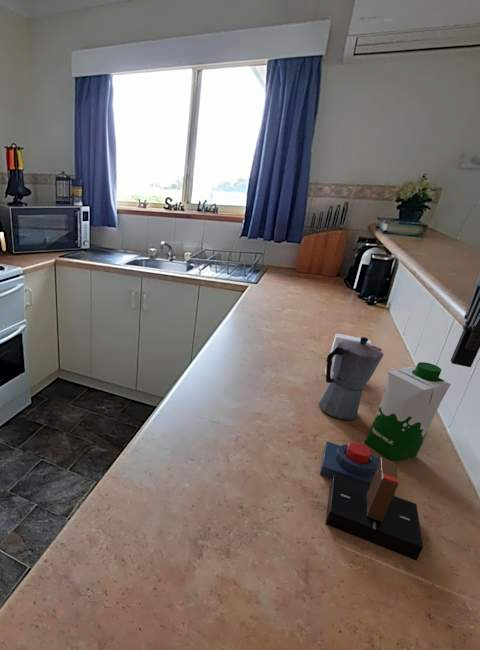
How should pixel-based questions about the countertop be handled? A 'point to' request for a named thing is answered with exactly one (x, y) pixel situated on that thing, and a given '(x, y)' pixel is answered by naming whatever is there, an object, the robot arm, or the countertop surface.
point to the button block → (347, 465)
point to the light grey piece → (337, 340)
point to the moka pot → (349, 377)
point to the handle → (382, 489)
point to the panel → (391, 533)
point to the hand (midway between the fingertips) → (460, 363)
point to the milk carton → (406, 411)
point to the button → (358, 453)
